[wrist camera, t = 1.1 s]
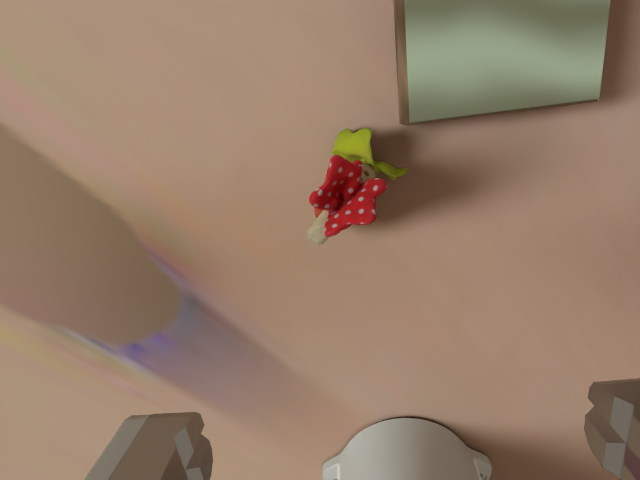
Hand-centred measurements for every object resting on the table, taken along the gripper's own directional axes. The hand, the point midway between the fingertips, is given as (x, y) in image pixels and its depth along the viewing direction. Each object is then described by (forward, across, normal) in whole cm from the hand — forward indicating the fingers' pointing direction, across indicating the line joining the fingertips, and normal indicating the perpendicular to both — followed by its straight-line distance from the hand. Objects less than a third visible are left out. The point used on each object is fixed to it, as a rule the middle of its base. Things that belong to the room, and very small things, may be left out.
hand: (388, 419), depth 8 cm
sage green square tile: (+26, -11, -11) cm, 30 cm away
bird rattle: (+26, 0, 0) cm, 26 cm away
